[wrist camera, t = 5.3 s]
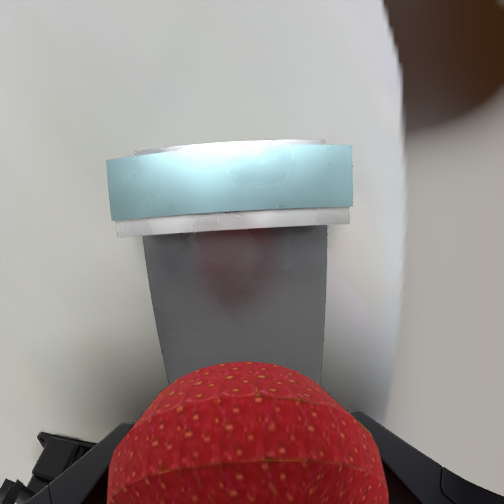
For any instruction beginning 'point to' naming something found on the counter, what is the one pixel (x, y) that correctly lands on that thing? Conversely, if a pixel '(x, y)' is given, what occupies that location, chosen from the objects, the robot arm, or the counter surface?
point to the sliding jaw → (231, 189)
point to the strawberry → (246, 444)
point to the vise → (239, 291)
